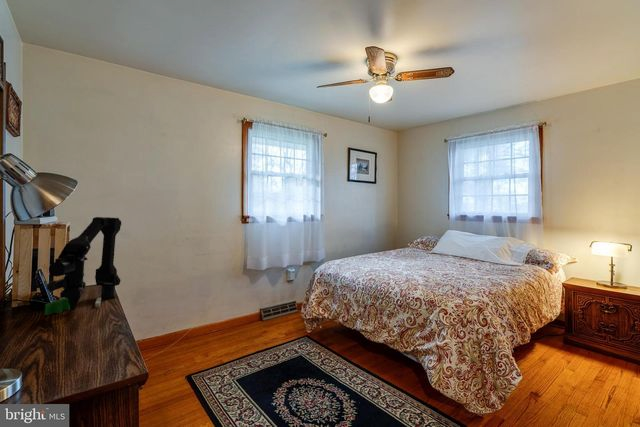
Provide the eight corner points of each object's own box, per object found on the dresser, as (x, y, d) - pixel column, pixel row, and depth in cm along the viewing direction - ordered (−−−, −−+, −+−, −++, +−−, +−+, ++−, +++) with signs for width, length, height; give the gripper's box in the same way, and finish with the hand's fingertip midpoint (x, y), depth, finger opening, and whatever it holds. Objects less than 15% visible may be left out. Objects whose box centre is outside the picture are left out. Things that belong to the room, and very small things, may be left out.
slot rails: (52, 305, 134) (52, 300, 134) (101, 300, 143) (101, 296, 143) (46, 312, 124) (47, 308, 124) (99, 307, 133) (99, 303, 133)
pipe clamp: (54, 316, 122) (54, 304, 122) (44, 315, 121) (45, 304, 121) (75, 307, 133) (75, 297, 133) (66, 307, 132) (66, 296, 133)
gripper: (54, 269, 129) (51, 306, 129) (44, 277, 114) (41, 318, 113) (86, 268, 135) (84, 303, 135) (81, 275, 120) (78, 315, 119)
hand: (72, 309), depth 125 cm, fingers closed
